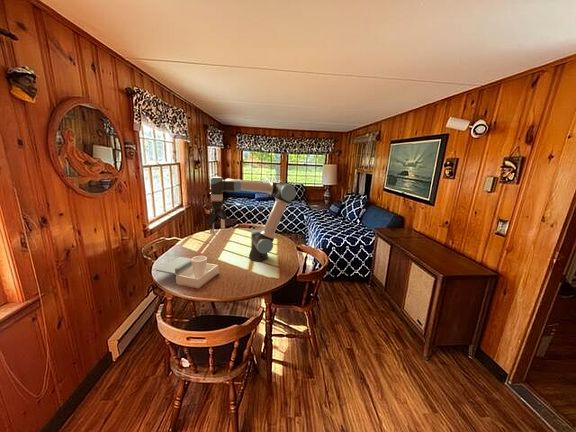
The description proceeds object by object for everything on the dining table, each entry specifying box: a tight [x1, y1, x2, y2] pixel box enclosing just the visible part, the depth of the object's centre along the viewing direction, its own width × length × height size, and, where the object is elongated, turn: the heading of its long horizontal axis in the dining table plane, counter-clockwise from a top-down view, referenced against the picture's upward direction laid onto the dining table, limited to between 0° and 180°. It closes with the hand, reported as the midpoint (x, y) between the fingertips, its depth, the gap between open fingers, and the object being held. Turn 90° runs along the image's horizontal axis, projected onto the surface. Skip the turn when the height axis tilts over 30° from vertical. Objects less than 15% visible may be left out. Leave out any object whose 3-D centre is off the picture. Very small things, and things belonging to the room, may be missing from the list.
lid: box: [155, 256, 192, 276], centre depth 159 cm, size 16×22×4 cm
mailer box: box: [175, 262, 220, 289], centre depth 156 cm, size 16×22×6 cm
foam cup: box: [190, 255, 208, 279], centre depth 155 cm, size 10×9×13 cm
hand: (217, 230), depth 164 cm, fingers open, 13 cm apart
